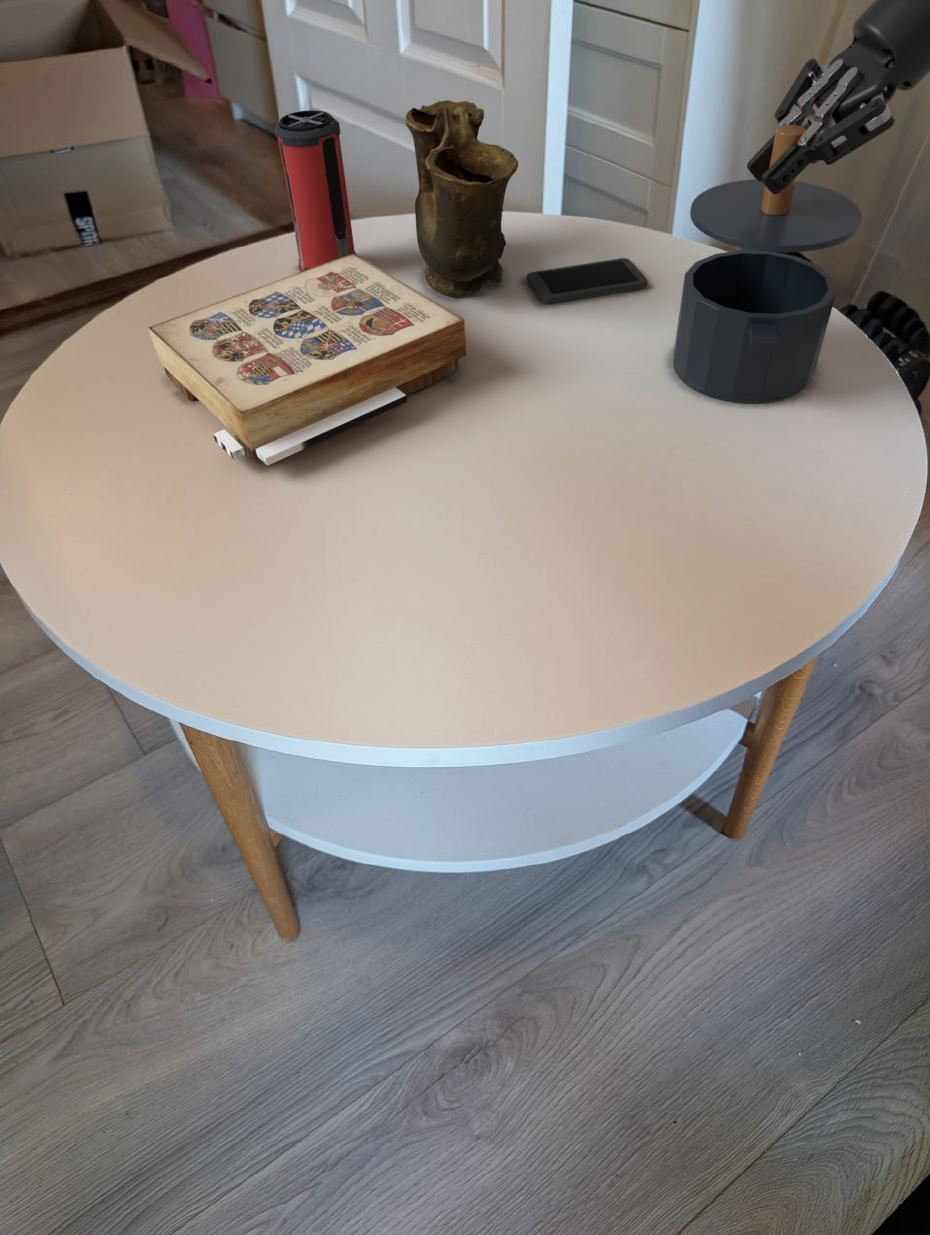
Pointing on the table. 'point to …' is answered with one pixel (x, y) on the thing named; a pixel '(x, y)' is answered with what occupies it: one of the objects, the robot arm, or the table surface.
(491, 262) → the pottery vessel
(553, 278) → the cell phone
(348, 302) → the book
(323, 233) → the speaker
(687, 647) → the table surface
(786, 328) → the pot
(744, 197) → the lid
